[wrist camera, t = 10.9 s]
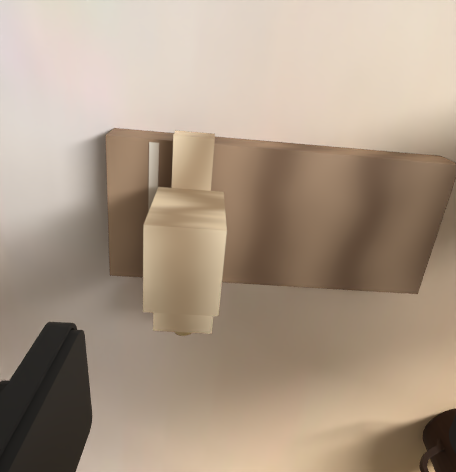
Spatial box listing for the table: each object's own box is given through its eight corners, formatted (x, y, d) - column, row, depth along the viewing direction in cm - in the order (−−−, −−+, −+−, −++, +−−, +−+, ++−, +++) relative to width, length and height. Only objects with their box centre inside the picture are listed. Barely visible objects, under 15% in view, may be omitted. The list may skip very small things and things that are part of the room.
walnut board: (440, 156, 29) (460, 165, 27) (403, 277, 33) (418, 294, 31) (114, 128, 28) (105, 135, 25) (117, 259, 32) (109, 276, 29)
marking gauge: (226, 128, 28) (233, 166, 19) (210, 303, 33) (210, 397, 24) (166, 123, 27) (144, 158, 18) (161, 300, 33) (142, 394, 24)
